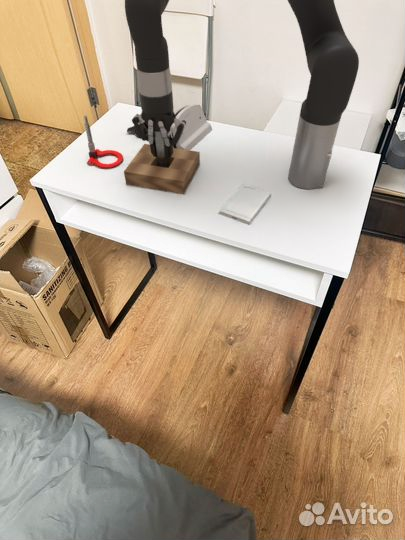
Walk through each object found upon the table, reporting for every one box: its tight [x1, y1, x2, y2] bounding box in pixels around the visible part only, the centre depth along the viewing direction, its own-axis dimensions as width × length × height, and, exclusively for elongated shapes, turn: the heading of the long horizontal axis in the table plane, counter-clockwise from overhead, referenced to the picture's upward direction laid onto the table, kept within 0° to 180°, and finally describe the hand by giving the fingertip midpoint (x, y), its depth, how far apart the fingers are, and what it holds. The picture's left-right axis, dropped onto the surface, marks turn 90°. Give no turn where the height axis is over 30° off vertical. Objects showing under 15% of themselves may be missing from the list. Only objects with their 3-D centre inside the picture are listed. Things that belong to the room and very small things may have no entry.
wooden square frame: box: [123, 143, 201, 195], centre depth 101 cm, size 16×14×4 cm
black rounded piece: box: [126, 122, 148, 140], centre depth 116 cm, size 8×10×3 cm
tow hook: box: [83, 115, 124, 170], centre depth 102 cm, size 8×13×9 cm
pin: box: [154, 131, 169, 168], centre depth 97 cm, size 3×3×11 cm
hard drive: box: [218, 184, 272, 226], centre depth 93 cm, size 2×8×12 cm
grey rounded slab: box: [171, 104, 213, 151], centre depth 112 cm, size 17×5×10 cm, turn 150°
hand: (162, 156), depth 98 cm, fingers closed on pin, 3 cm apart
